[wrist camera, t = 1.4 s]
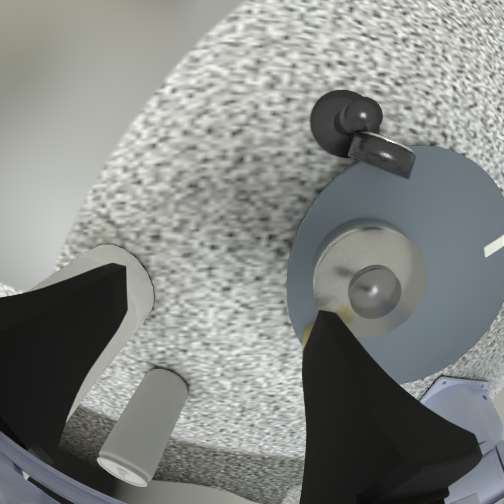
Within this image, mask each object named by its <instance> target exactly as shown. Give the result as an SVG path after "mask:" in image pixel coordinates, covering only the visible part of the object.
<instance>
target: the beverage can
mask: <svg viewBox="0 0 504 504" xmlns="http://www.w3.org/2000/svg"><path fill="white" fill-rule="evenodd" d="M187 396H188V389H187V386H186V384H185V383H184V381H183V380H182V379H181V378H180V377H179V376H178V375H177V374H175V373H173V372H171V371H169V370H165V369H154V370H151V371H149V372H148V373H147V374H146V375H145V377H144V378H143V380H142V382H141V383H140V385H139V387H138V388H137V390H136V391H135V393H134V395H133V396H132V398H131V400H130V401H129V403H128V405H127V406H126V408H125V410H124V411H123V413H122V415H121V416H120V418H119V420H118V421H117V423H116V425H115V426H114V428H113V430H112V431H111V433H110V435H109V436H108V438H107V440H106V441H105V443H104V445H103V447H102V448H101V450H100V452H99V455H100V457H98V459H97V461H98V463H99V464H100V465H101V466H102V467H103V468H104V469H105V470H106V471H108V472H109V473H111V474H113V475H114V476H115V477H117V478H119V479H121V480H123V481H125V482H128V483H130V484H133V485H136V486H141V487H146V486H147V485H148V483H147V482H149V481H150V480H152V478H153V475H154V473H155V471H156V468H157V466H158V464H159V461H160V459H161V457H162V454H163V452H164V450H165V447H166V445H167V443H168V440H169V438H170V436H171V433H172V431H173V429H174V426H175V424H176V422H177V419H178V417H179V414H180V412H181V410H182V407H183V405H184V403H185V400H186V398H187Z"/></svg>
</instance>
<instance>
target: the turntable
mask: <svg viewBox="0 0 504 504" xmlns="http://www.w3.org/2000/svg"><path fill="white" fill-rule="evenodd" d="M407 147H409V148H410V149H412V150H413V153H414V154H415V155H416V159H415V162H414V165H413V169H412V172H411V175H410V178H409V180H408V179H405V178H402V177H400V176H397V175H394V174H392V173H389V172H387V171H384V170H382V169H379V168H377V167H374V166H371V165H369V164H366V163H364V162H361V161H357V162H356V163H354V164H352V165H350V166H349V167H348V168H346V169H345V170H344V171H343V172H341V173H340V174H339V175H337V176H336V177H335V178H334V179H333V180H332V181H331V182H330V183H329V184H328V185H327V186H326V187H325V188H324V189H323V190H322V191H321V193H320V194H319V195H318V197H317V198H316V199H315V201H314V202H313V203H312V205H311V206H310V207H309V209H308V211H307V213H306V215H305V216H304V218H303V220H302V222H301V224H300V226H299V228H298V231H297V233H296V236H295V238H294V241H293V245H292V249H291V253H290V257H289V265H288V273H287V304H288V310H289V316H290V319H291V322H292V325H293V329H294V331H295V333H296V335H297V337H298V339H299V341H300V343H301V344H302V346H303V350H304V347H305V345H306V343H307V340H308V338H309V335H310V333H311V330H312V328H313V325H314V323H315V320H316V318H317V315H318V313H319V312H318V310H317V308H316V304H315V299H314V290H313V280H312V263H313V259H314V255H315V253H316V250H317V248H318V246H319V245H320V243H321V242H322V240H323V239H324V238H325V237H326V235H328V234H329V233H330V232H331V231H332V230H333V229H335V228H336V227H337V226H339V225H341V224H343V223H345V222H347V221H350V220H353V219H358V218H375V219H379V220H383V221H385V222H387V223H389V224H391V225H392V226H394V227H395V228H396V229H397V230H399V231H400V232H401V233H402V234H403V235H404V236H405V237H406V238H408V239H409V240H410V241H411V242H412V243H413V244H414V245H415V246H416V247H417V249H418V250H419V251H420V253H421V255H422V257H423V259H424V262H425V266H426V273H427V280H426V288H425V292H424V295H423V298H422V300H421V302H420V304H419V306H418V307H417V309H416V310H415V312H414V313H413V314H412V315H411V316H410V317H409V318H408V319H407V320H406V321H405V322H404V323H403V324H402V325H400V326H399V327H397V328H396V329H394V330H392V331H390V332H388V333H386V334H383V335H380V336H376V337H371V338H356V339H357V340H358V341H359V342H360V343H361V345H362V346H363V347H364V348H365V350H366V351H367V352H368V353H369V354H370V355H371V357H372V358H373V359H374V360H375V361H376V362H377V363H378V364H379V366H380V367H381V368H382V369H383V370H384V371H385V372H386V373H387V374H388V375H389V376H390V377H391V378H392V379H393V380H394V381H395V382H397V383H398V384H404V383H408V382H412V381H416V380H419V379H422V378H425V377H427V376H429V375H432V374H434V373H436V372H438V371H440V370H442V369H444V368H445V367H447V366H449V365H450V364H452V363H453V362H455V361H456V360H457V359H459V358H460V357H461V356H463V355H464V354H465V353H466V352H467V351H468V350H469V349H471V348H472V347H473V346H474V345H475V344H476V343H477V341H478V340H479V339H480V338H481V337H482V336H483V335H484V333H485V332H486V331H487V329H488V328H489V327H490V325H491V324H492V322H493V321H494V319H495V317H496V316H497V314H498V312H499V310H500V308H501V306H502V304H503V302H504V197H503V195H502V193H501V191H500V189H499V188H498V186H497V185H496V184H495V182H494V181H493V179H492V178H491V177H490V176H489V175H488V174H487V173H486V172H485V171H484V170H483V169H482V168H481V167H480V166H478V165H477V164H476V163H474V162H473V161H472V160H470V159H469V158H467V157H465V156H463V155H461V154H459V153H457V152H454V151H450V150H447V149H444V148H439V147H431V146H416V145H415V146H407Z"/></svg>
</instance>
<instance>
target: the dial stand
mask: <svg viewBox="0 0 504 504" xmlns="http://www.w3.org/2000/svg"><path fill="white" fill-rule="evenodd" d="M382 119H383V114H382V110H381V108H380V106H379V104H378V103H377V102H376V101H374V100H373V99H371V98H368V97H363V96H361V95H360V94H358V93H355V92H352V91H348V90H336V91H332V92H329V93H327V94H325V95H324V96H322V97H321V98H320V99H319V100H318V101H317V103H316V104H315V106H314V108H313V110H312V113H311V117H310V127H311V131H312V134H313V137H314V139H315V140H316V142H317V143H318V144H319V145H320V146H321V147H322V148H323V149H324V150H325V151H327V152H328V153H330V154H332V155H335V156H338V157H344V158H354V159H356V160H359V161H361V162H364V163H366V164H369V165H371V166H374V167H377V168H379V169H382V170H384V171H387V172H389V173H392V174H394V175H397V176H400V177H402V178H405V179H408V180H409V178H410V175H411V172H412V169H413V165H414V162H415V159H416V155H415V154H414V153H413V150H412V149H410V148H409V147H407V146H405V145H403V144H401V143H399V142H397V141H395V140H393V139H390V138H388V137H385V136H382V135H379V128H380V127H379V126H380V124H381V122H382Z"/></svg>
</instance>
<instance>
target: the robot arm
mask: <svg viewBox="0 0 504 504" xmlns="http://www.w3.org/2000/svg"><path fill="white" fill-rule="evenodd" d="M127 311H128V301H127V274H126V266H124V265H120V264H116V263H109V264H106V265H103V266H100V267H97V268H94V269H92V270H89V271H87V272H84V273H81V274H79V275H76V276H74V277H71V278H69V279H66V280H63V281H60V282H57V283H55V284H52V285H49V286H46V287H43V288H40V289H37V290H33V291H29V292H26V293H22V294H17V295H12V296H6V297H1V298H0V504H60V503H59V502H57V501H56V500H54V499H53V498H51V497H50V496H48V495H47V494H45V493H44V492H43V491H42V490H40V489H39V488H37V487H36V486H35V485H33V484H32V483H30V482H29V481H27V480H26V479H25V478H24V475H23V472H25V473H26V474H27V475H29V476H31V477H32V478H33V479H35V480H36V481H38V482H39V483H41V484H43V485H44V486H46V487H47V488H49V489H50V490H52V491H54V492H55V493H57V494H59V495H60V496H62V497H64V498H66V499H68V500H69V501H71V502H73V503H75V504H126V503H124V502H121V501H118V500H116V499H114V498H111V497H109V496H107V495H104V494H102V493H100V492H98V491H95V490H93V489H91V488H89V487H87V486H85V485H83V484H81V483H79V482H77V481H75V480H73V479H71V478H69V477H68V476H66V475H64V474H62V473H61V472H59V471H57V470H55V469H53V468H52V467H50V466H49V464H52V463H54V462H55V458H56V453H57V450H58V446H59V442H60V439H61V435H62V432H63V429H64V426H65V423H66V421H67V418H68V415H69V413H70V410H71V408H72V405H73V403H74V401H75V398H76V396H77V394H78V392H79V390H80V388H81V386H82V384H83V382H84V380H85V378H86V376H87V374H88V373H89V371H90V369H91V368H92V367H93V365H94V364H95V362H96V361H97V359H98V358H99V356H100V355H101V354H102V352H103V351H104V349H105V348H106V346H107V345H108V344H109V342H110V341H111V339H112V338H113V336H114V335H115V333H116V332H117V331H118V329H119V327H120V325H121V323H122V321H123V319H124V317H125V315H126V313H127ZM302 380H303V392H304V403H305V415H306V453H305V465H304V475H303V483H302V490H301V497H300V503H299V504H494V503H496V502H497V501H499V500H500V499H502V498H504V441H503V440H502V435H503V425H502V422H501V419H500V418H499V415H498V413H497V411H496V409H495V407H494V405H493V403H492V401H491V399H490V398H489V396H488V394H487V392H486V389H487V388H488V387H489V385H490V384H489V382H486V381H475V380H465V379H457V378H449V377H440V378H438V379H437V380H436V382H435V383H434V384H433V386H432V387H431V388H430V389H429V390H428V392H427V393H426V394H425V395H424V396H423V398H422V399H421V400H420V401H418V400H417V399H415V398H414V397H413V396H411V395H410V394H409V393H408V392H407V391H405V390H404V389H403V388H402V387H401V386H400V385H399V384H398V383H397V382H395V381H394V380H393V379H392V378H391V377H390V376H389V375H388V374H387V373H386V372H385V371H384V370H383V369H382V368H381V367H380V366H379V364H378V363H377V362H376V361H375V360H374V359H373V358H372V357H371V355H370V354H369V353H368V352H367V351H366V350H365V348H364V347H363V346H362V345H361V343H360V342H359V341H358V340H357V339H356V337H355V336H354V335H353V333H352V332H351V331H350V330H349V328H348V327H347V326H346V324H345V323H344V322H343V321H342V319H341V318H340V317H339V316H338V315H337V314H336V313H335V312H330V311H324V310H319V313H318V315H317V318H316V320H315V323H314V325H313V328H312V330H311V333H310V335H309V338H308V340H307V343H306V345H305V347H304V350H303V361H302ZM21 470H22V471H23V472H22V471H21ZM501 504H504V501H503V502H502V503H501Z"/></svg>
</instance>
